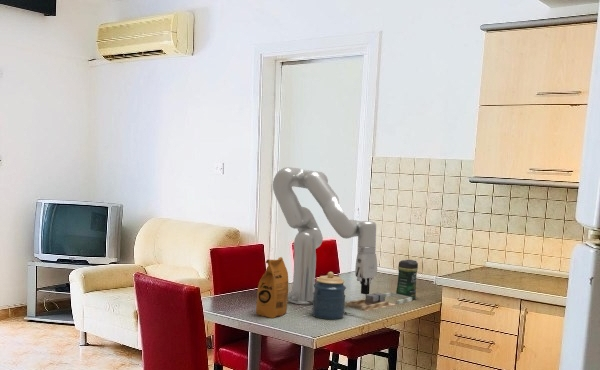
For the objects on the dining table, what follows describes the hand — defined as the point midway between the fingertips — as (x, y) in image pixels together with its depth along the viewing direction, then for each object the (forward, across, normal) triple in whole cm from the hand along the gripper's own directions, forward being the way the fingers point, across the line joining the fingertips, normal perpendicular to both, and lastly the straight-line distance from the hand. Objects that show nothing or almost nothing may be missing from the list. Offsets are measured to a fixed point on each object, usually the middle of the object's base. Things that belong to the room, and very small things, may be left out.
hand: (365, 293), depth 236 cm
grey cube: (+6, +12, +1) cm, 13 cm away
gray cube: (+6, +6, +1) cm, 9 cm away
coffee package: (+6, -38, +17) cm, 43 cm away
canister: (+7, -20, +3) cm, 22 cm away
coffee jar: (+8, +38, +3) cm, 38 cm away
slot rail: (+7, +12, +1) cm, 14 cm away
